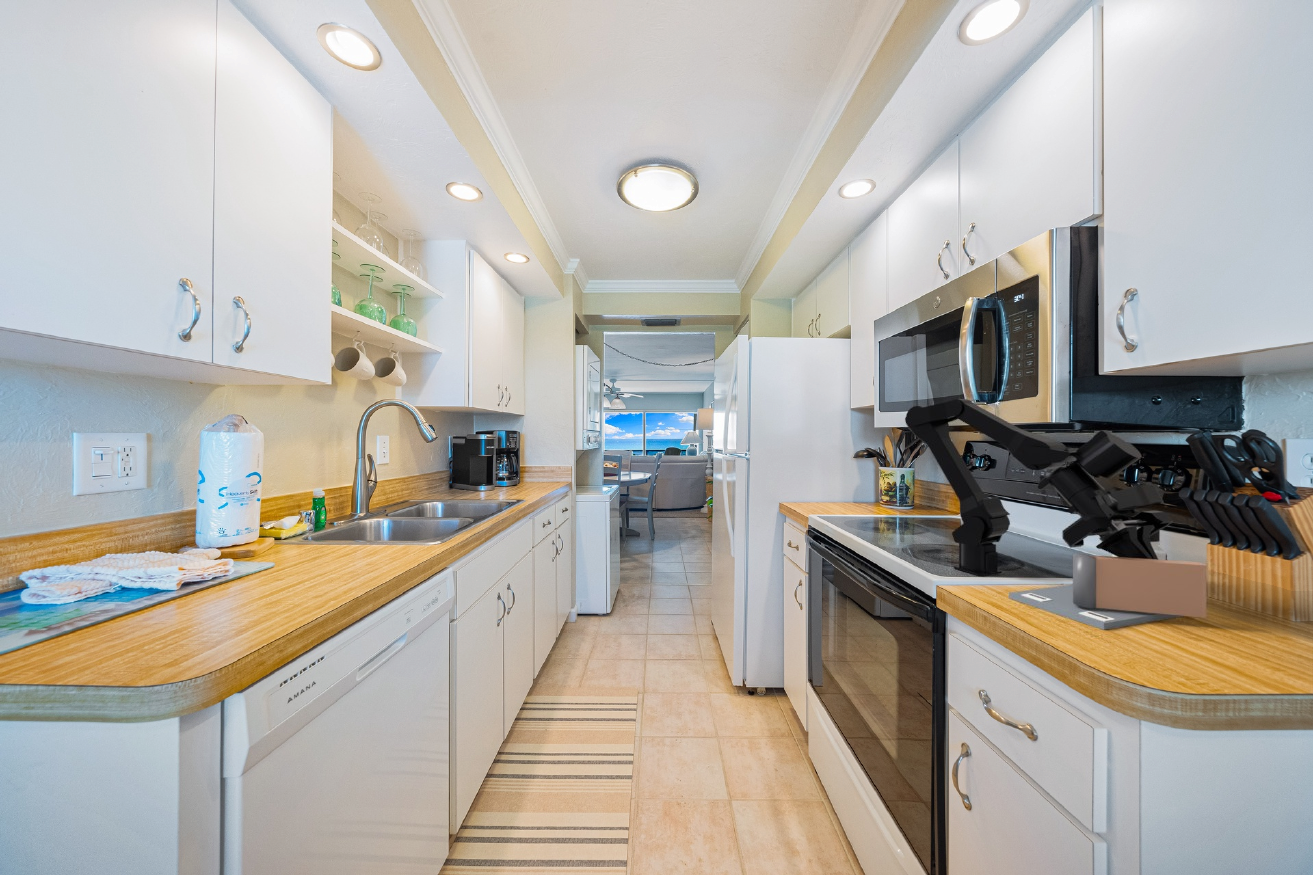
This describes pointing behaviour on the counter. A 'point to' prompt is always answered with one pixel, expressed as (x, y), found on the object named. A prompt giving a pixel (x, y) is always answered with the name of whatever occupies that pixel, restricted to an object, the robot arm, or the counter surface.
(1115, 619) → the label board
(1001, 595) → the counter surface
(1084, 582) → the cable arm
